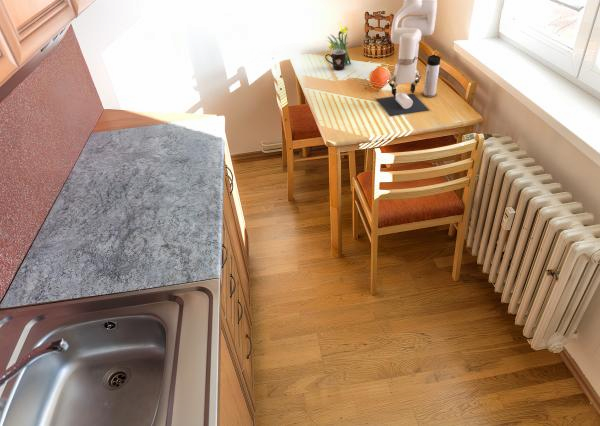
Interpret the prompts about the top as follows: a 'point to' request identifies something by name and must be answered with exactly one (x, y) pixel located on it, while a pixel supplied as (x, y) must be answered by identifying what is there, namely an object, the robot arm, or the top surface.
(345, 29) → the daffodil flowers
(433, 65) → the travel mug
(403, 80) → the robot arm
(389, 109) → the slate mat
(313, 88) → the top surface
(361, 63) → the top surface
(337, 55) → the coffee mug
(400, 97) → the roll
